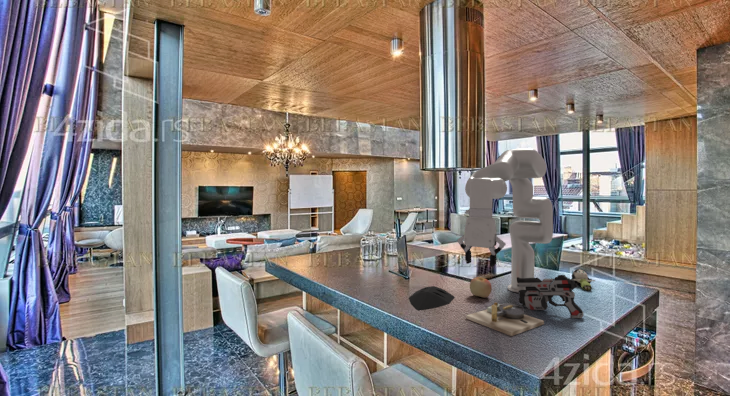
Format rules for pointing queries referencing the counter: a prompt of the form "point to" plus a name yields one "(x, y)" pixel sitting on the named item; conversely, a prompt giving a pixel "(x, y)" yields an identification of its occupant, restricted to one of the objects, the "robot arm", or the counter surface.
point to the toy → (582, 279)
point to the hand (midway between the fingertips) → (480, 264)
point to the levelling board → (505, 322)
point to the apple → (480, 287)
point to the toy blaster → (548, 293)
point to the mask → (430, 298)
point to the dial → (507, 311)
